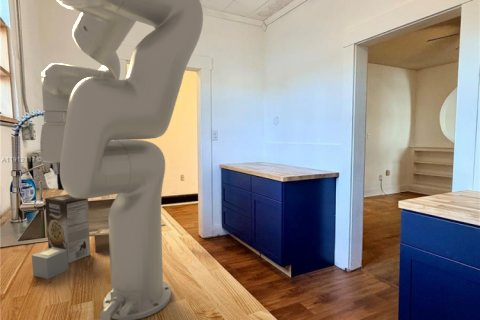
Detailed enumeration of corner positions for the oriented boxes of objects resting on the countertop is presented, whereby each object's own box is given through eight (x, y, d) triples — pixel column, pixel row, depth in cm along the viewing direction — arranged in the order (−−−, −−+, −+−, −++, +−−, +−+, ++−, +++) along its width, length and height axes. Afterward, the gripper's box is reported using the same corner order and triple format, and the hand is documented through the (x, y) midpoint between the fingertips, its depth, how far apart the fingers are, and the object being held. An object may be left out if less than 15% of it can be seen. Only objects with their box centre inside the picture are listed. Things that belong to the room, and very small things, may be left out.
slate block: (48, 279, 64) (46, 258, 63) (33, 275, 65) (31, 254, 65) (68, 269, 68) (67, 249, 68) (54, 266, 70) (52, 246, 70)
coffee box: (47, 256, 75) (43, 197, 74) (71, 248, 81) (68, 193, 79) (67, 264, 71) (64, 201, 69) (91, 254, 77) (88, 196, 75)
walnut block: (114, 250, 79) (113, 233, 79) (95, 252, 78) (94, 234, 78) (117, 244, 84) (117, 227, 84) (99, 245, 83) (98, 228, 82)
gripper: (97, 120, 76) (100, 187, 77) (46, 119, 77) (49, 185, 79) (78, 118, 68) (82, 192, 70) (22, 118, 70) (27, 191, 72)
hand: (65, 188), depth 74 cm, fingers closed
